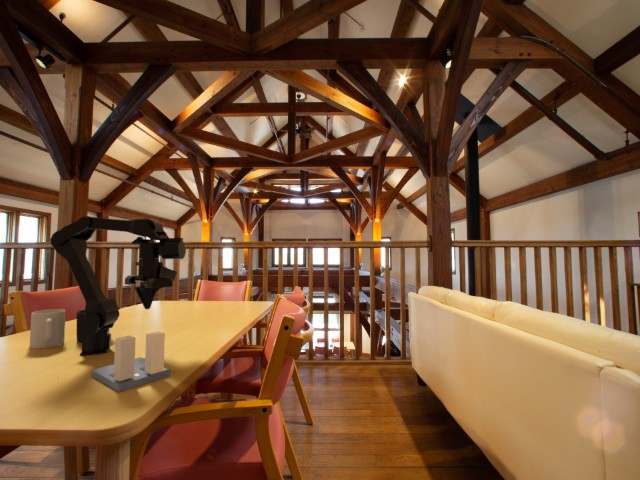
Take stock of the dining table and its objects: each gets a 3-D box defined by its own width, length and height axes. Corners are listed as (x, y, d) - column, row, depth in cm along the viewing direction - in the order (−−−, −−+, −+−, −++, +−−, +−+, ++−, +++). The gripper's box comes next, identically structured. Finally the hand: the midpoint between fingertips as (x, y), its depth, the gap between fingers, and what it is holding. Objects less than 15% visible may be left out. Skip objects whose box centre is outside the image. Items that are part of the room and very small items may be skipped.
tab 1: (113, 378, 69) (115, 338, 70) (128, 374, 72) (129, 335, 72) (119, 381, 67) (121, 340, 68) (134, 377, 70) (135, 337, 70)
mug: (29, 344, 100) (31, 310, 100) (63, 339, 105) (65, 307, 106) (28, 353, 91) (30, 316, 91) (65, 347, 97) (67, 313, 97)
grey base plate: (91, 376, 75) (92, 369, 75) (140, 362, 84) (140, 356, 84) (118, 392, 66) (119, 384, 66) (169, 375, 76) (170, 368, 76)
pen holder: (89, 335, 111) (91, 308, 111) (115, 336, 111) (116, 308, 111) (67, 343, 102) (69, 313, 102) (95, 343, 101) (96, 313, 102)
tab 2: (144, 371, 73) (146, 333, 74) (157, 367, 76) (158, 331, 76) (151, 374, 71) (152, 335, 72) (163, 370, 74) (164, 333, 74)
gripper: (189, 259, 97) (188, 308, 96) (159, 258, 107) (157, 302, 106) (154, 259, 87) (152, 314, 87) (124, 258, 98) (123, 307, 97)
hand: (147, 308), depth 95 cm, fingers closed
